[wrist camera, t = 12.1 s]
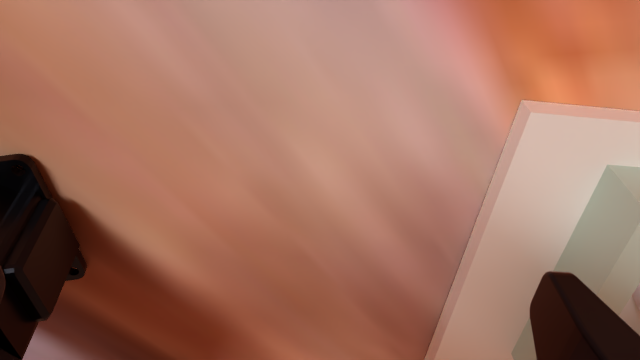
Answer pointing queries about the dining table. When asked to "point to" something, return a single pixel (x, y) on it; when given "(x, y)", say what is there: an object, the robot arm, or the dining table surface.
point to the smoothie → (637, 296)
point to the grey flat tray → (548, 228)
